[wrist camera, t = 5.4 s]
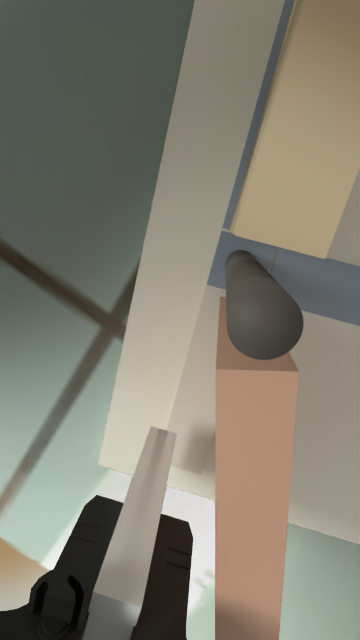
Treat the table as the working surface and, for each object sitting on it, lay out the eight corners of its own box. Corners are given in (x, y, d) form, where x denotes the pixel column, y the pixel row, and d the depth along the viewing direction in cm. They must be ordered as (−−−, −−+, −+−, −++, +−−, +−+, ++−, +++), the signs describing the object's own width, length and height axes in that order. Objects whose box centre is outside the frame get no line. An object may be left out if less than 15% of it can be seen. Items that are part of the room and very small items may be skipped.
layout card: (101, 456, 17) (96, 465, 17) (215, -80, 11) (214, -100, 10) (405, 548, 17) (412, 562, 16) (726, 27, 10) (761, 14, 9)
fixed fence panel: (254, 283, 14) (300, 371, 5) (217, 273, 14) (206, 345, 6) (360, -46, 10) (858, -1036, 2) (310, -56, 10) (617, -1055, 2)
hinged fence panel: (219, 296, 13) (215, 369, 7) (260, 296, 13) (299, 371, 6) (219, 482, 16) (215, 672, 9) (253, 485, 16) (275, 681, 9)
